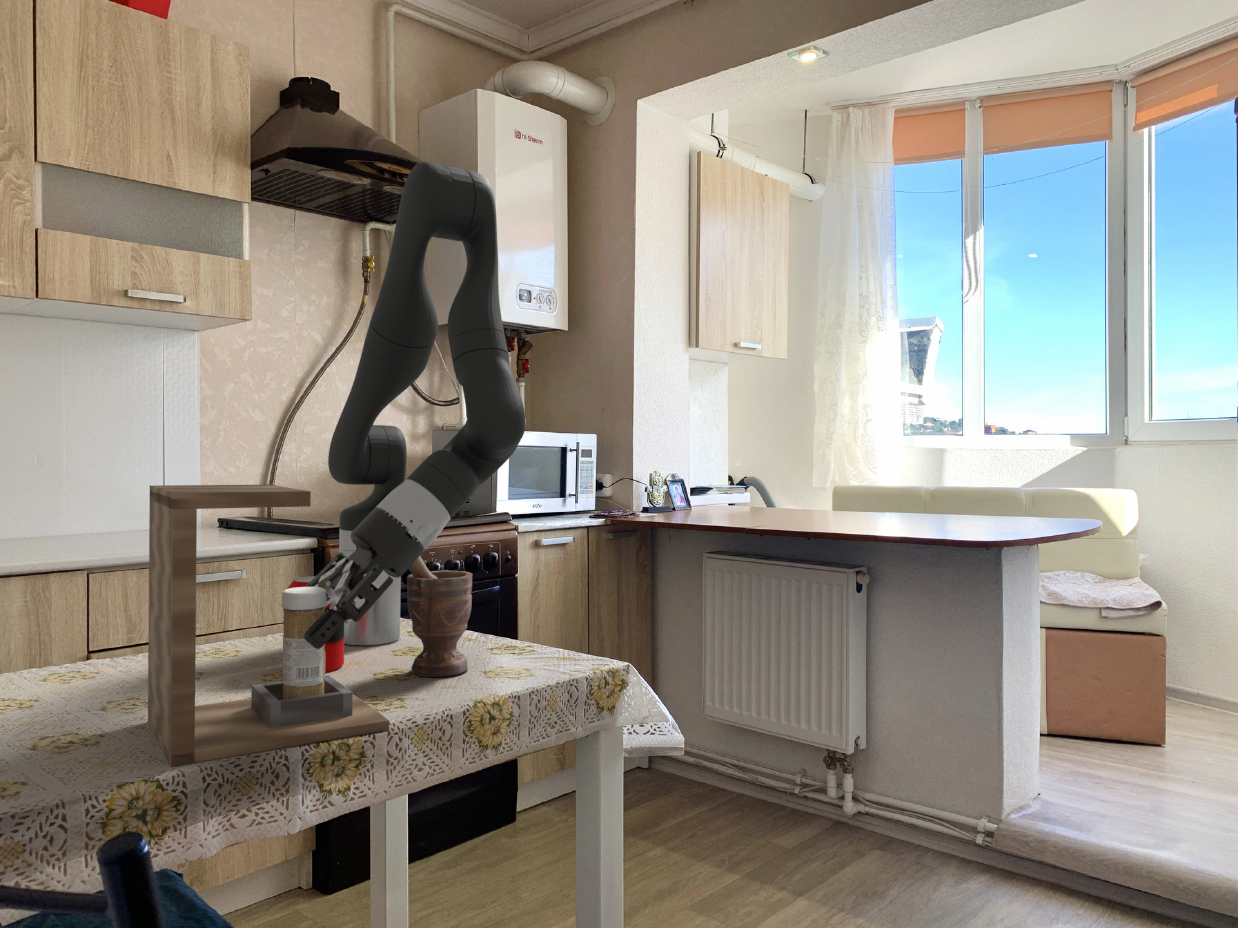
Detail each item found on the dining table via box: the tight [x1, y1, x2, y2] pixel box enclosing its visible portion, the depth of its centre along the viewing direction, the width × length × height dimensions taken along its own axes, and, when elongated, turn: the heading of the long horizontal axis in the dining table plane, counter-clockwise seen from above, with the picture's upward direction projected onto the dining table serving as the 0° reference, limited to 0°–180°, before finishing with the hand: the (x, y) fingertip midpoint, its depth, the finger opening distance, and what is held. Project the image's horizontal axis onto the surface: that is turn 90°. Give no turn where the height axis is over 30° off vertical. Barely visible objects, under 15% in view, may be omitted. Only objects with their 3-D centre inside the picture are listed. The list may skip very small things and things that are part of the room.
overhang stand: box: [147, 484, 390, 767], centre depth 96 cm, size 16×21×26 cm
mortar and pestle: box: [406, 555, 473, 678], centre depth 120 cm, size 12×9×20 cm
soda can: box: [286, 575, 345, 673], centre depth 122 cm, size 8×8×12 cm
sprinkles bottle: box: [281, 587, 326, 699], centre depth 98 cm, size 5×5×13 cm
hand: (299, 636), depth 98 cm, fingers open, 8 cm apart
